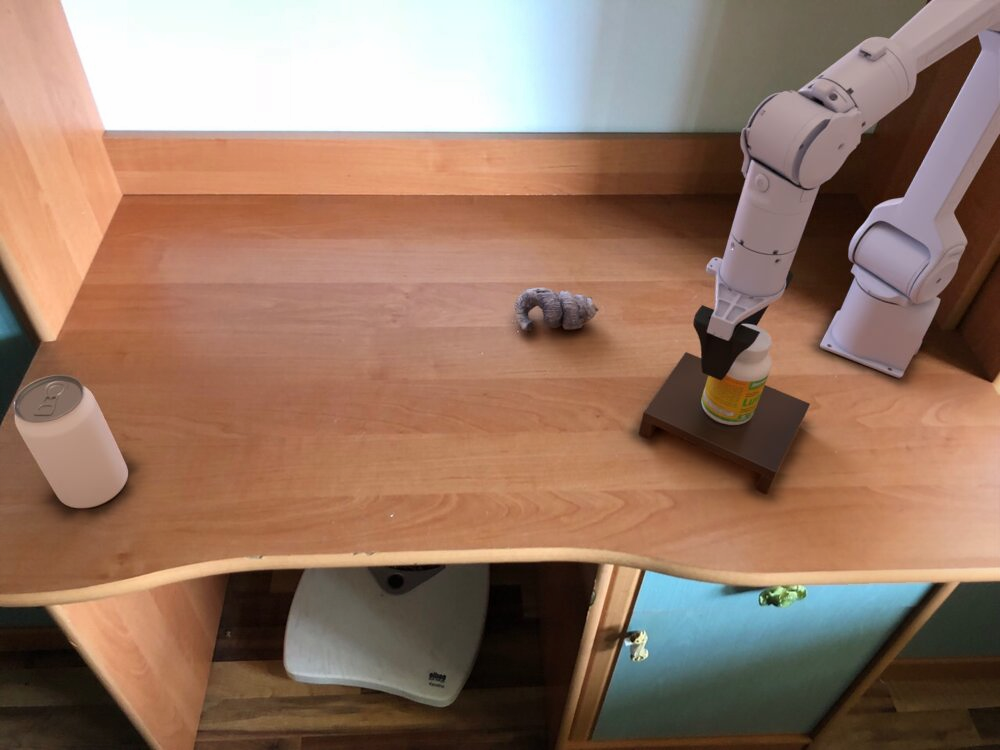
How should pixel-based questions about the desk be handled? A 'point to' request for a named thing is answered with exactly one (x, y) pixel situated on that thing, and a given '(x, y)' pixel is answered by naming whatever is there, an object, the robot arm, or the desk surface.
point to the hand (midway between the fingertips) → (727, 351)
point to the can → (70, 440)
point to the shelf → (745, 443)
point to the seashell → (555, 308)
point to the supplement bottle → (740, 383)
